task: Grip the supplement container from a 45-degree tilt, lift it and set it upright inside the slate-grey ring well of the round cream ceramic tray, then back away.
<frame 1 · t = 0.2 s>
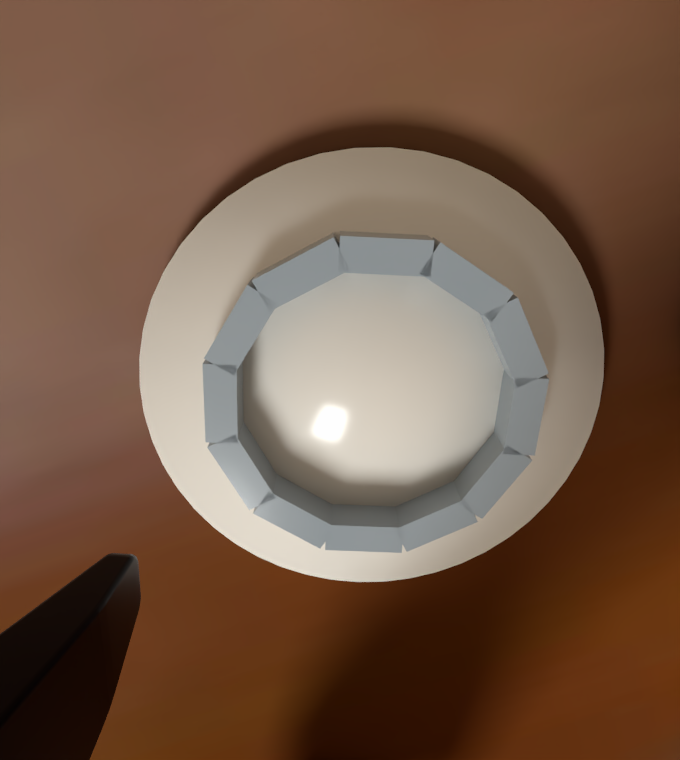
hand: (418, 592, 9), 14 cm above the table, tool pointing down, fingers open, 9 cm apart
round tray: (370, 386, 23), on the table
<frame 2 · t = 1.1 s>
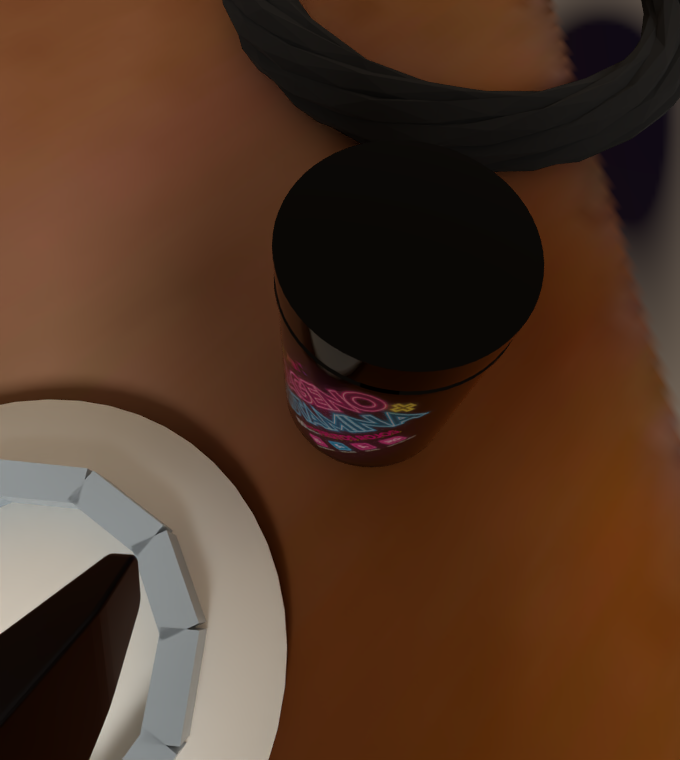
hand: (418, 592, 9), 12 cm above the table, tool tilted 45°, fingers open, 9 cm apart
round tray: (21, 659, 19), on the table
supplement container: (366, 394, 24), on the table
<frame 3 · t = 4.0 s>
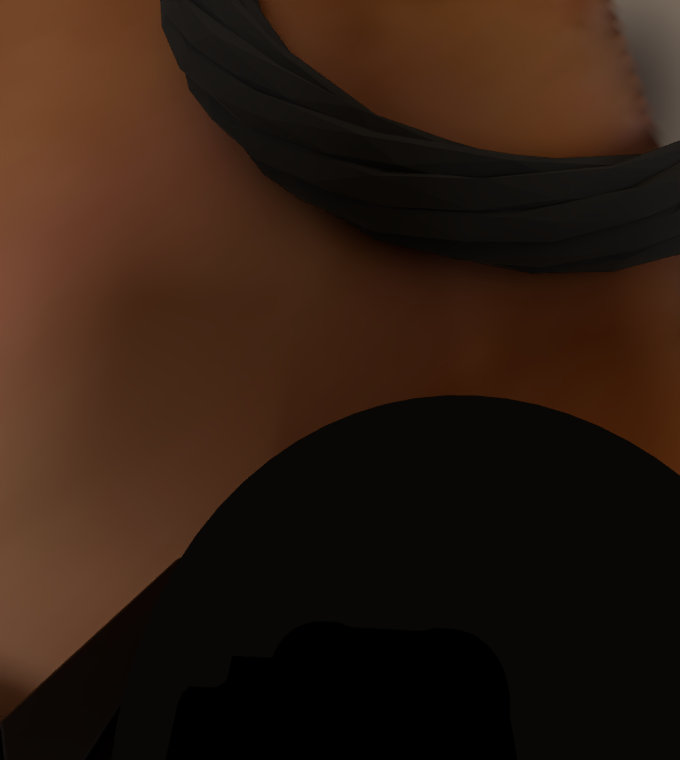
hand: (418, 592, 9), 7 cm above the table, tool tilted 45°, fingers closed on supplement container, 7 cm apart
cable lock: (514, 16, 25), on the table
supplement container: (369, 655, 15), on the table, touching gripper
when the fingers open (9 cm above the table, at t = 9.3 s): supplement container drops 1 cm, resting on round tray.
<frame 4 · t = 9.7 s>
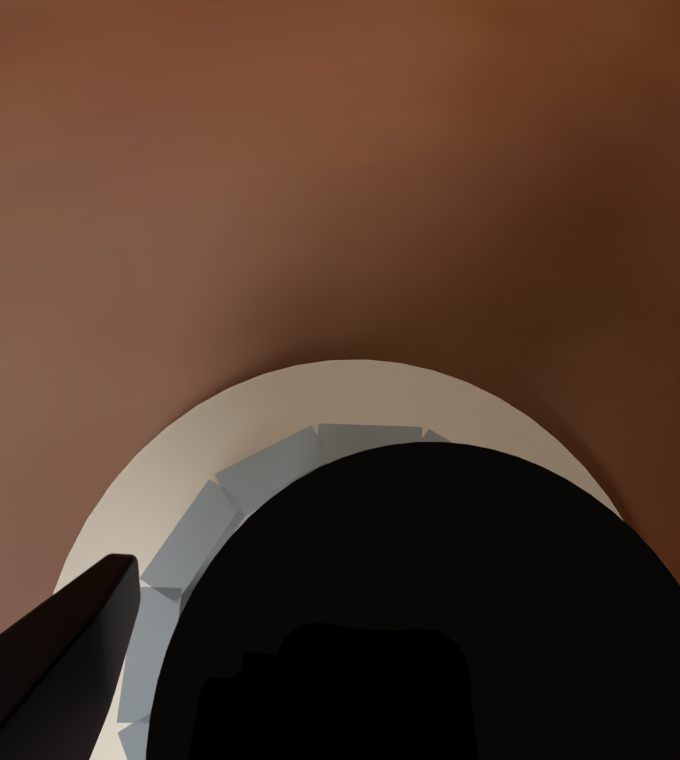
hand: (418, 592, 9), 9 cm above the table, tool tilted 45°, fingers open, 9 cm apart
round tray: (361, 648, 17), on the table
supplement container: (362, 658, 16), point 1 cm above the table, touching round tray
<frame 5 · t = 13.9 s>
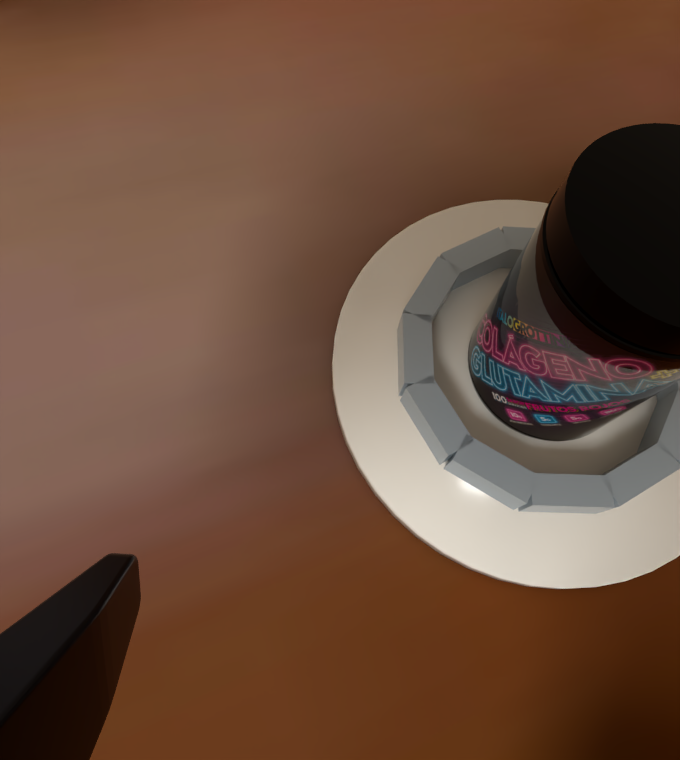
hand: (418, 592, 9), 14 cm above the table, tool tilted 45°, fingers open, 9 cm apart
round tray: (531, 376, 26), on the table
supplement container: (537, 373, 25), point 1 cm above the table, touching round tray
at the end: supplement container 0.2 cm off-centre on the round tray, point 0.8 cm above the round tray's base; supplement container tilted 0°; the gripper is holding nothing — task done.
